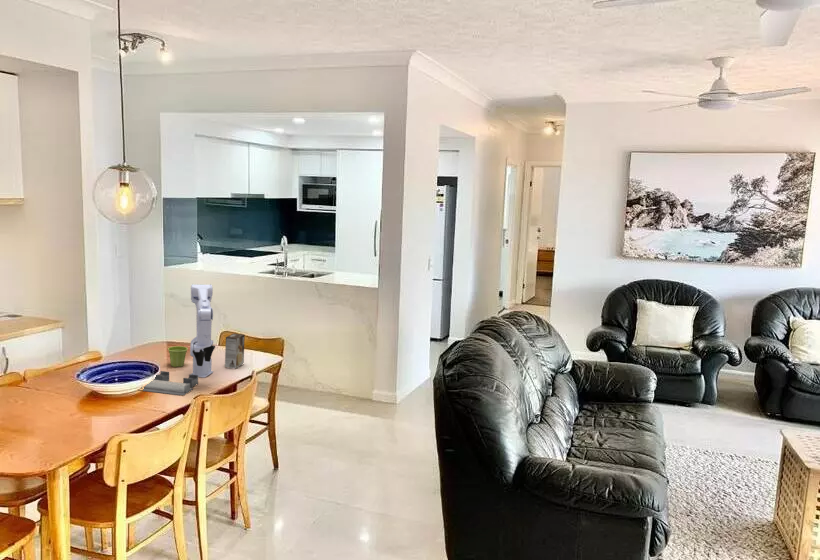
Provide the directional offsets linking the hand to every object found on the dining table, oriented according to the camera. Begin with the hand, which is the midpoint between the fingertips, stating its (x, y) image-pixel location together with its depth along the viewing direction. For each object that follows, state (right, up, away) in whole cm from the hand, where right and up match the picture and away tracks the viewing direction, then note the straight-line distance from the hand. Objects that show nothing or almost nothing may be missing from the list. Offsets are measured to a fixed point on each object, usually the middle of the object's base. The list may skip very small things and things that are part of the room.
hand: (203, 363), depth 275 cm
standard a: (-6, -10, 0) cm, 12 cm away
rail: (-14, -10, -8) cm, 19 cm away
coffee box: (+4, -6, +34) cm, 35 cm away
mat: (-14, -11, -8) cm, 19 cm away
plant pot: (-23, -5, +28) cm, 36 cm away
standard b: (-20, -9, +2) cm, 22 cm away
